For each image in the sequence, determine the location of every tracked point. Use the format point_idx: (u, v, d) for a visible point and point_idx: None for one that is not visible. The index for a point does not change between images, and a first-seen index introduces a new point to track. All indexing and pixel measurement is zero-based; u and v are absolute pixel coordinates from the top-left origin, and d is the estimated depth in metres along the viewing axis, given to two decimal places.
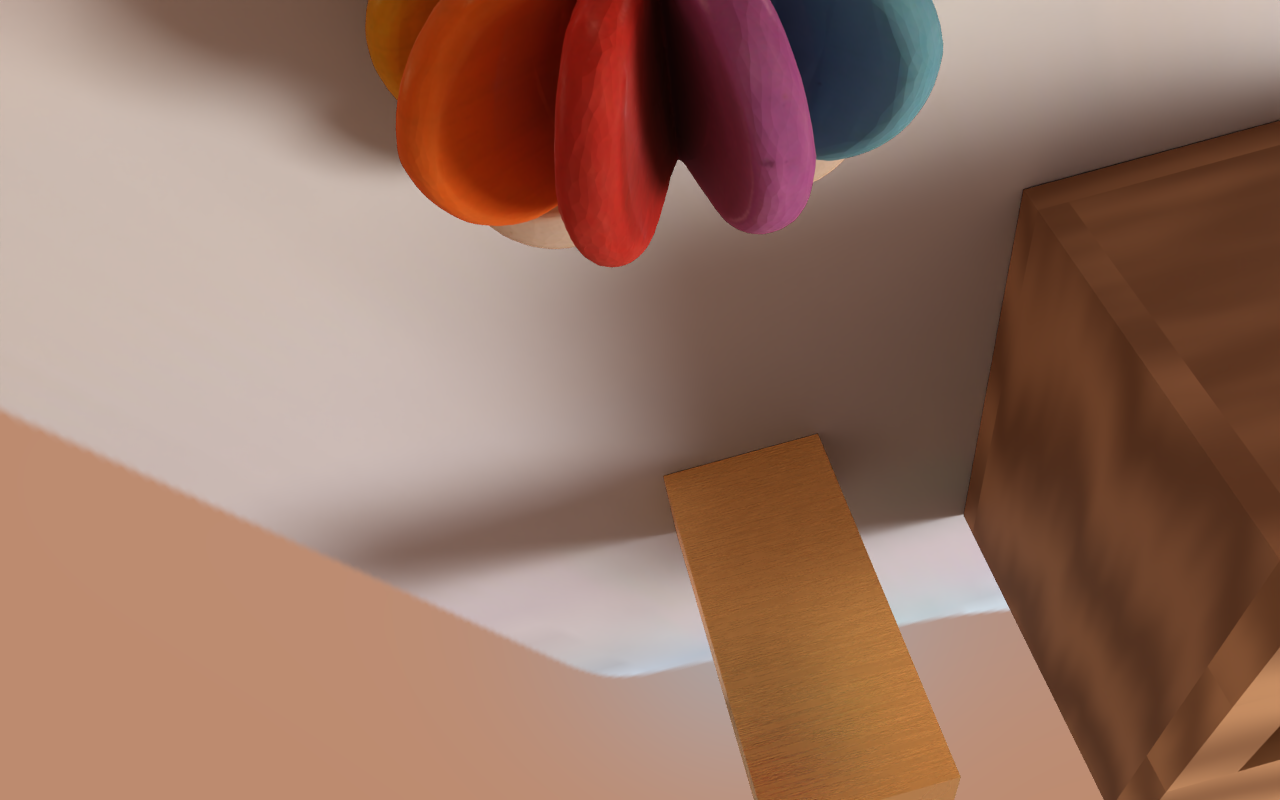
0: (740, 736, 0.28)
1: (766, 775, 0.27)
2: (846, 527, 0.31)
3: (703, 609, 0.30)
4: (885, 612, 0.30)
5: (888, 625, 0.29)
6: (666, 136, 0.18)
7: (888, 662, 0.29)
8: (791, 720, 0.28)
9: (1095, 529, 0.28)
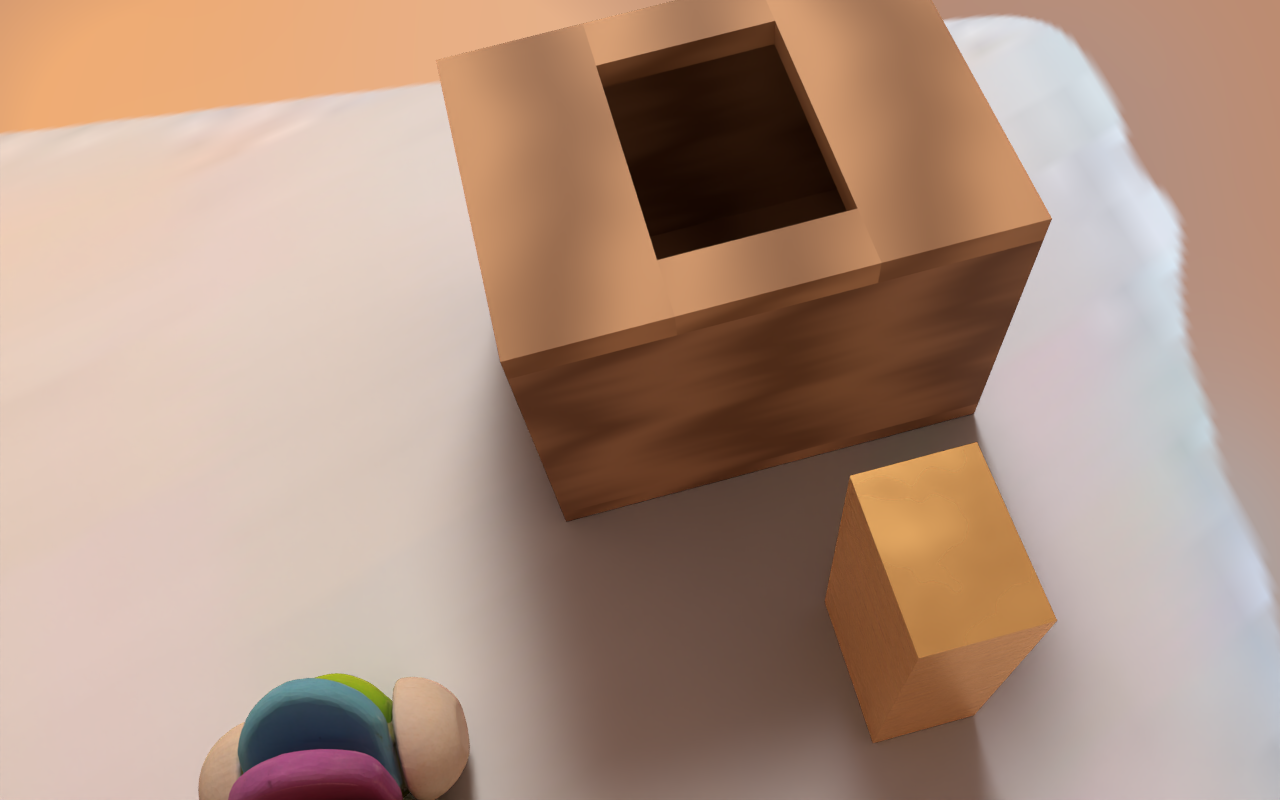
0: (905, 681, 0.28)
1: (906, 658, 0.27)
2: (833, 578, 0.35)
3: (889, 711, 0.31)
4: (838, 544, 0.32)
5: (840, 541, 0.32)
6: None
7: (847, 541, 0.31)
8: (886, 630, 0.29)
9: (730, 398, 0.35)
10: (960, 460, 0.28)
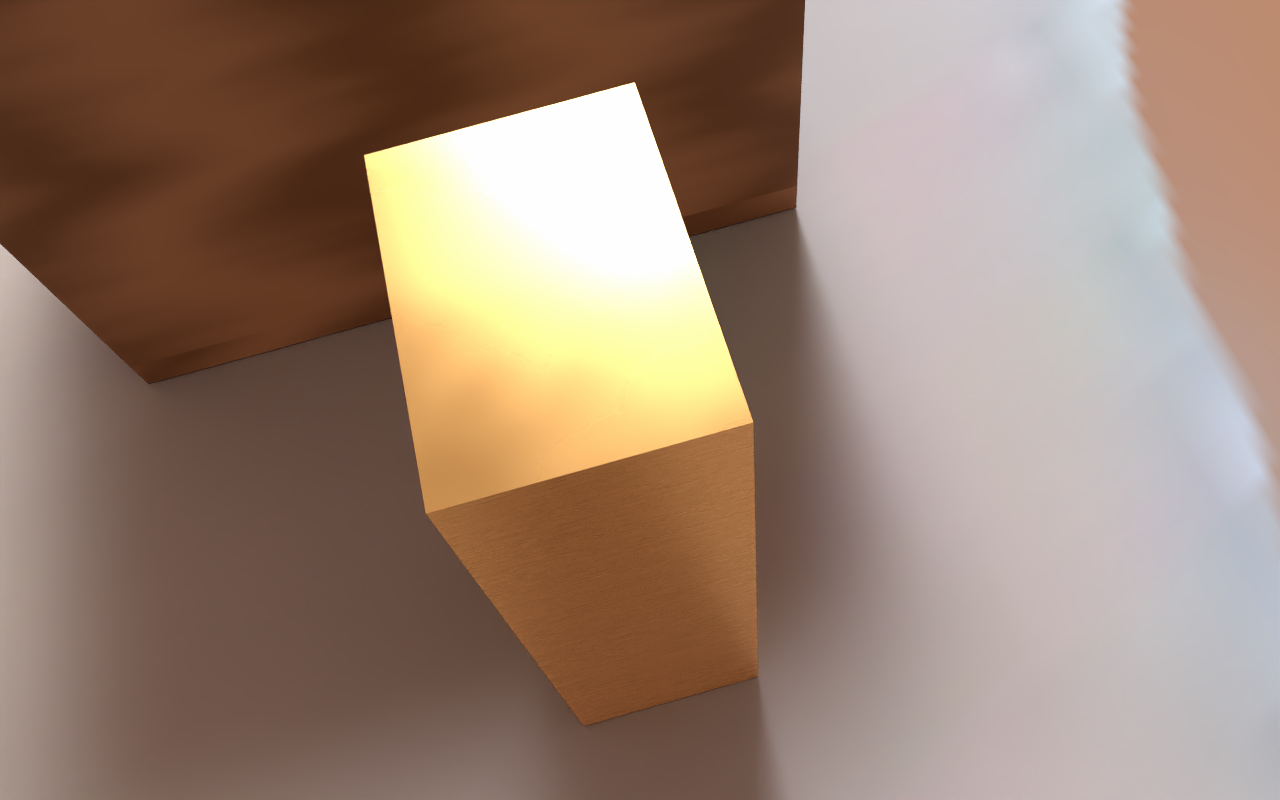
0: (482, 586, 0.13)
1: None
2: None
3: (539, 662, 0.17)
4: None
5: None
6: None
7: None
8: None
9: (317, 127, 0.20)
10: (594, 117, 0.13)
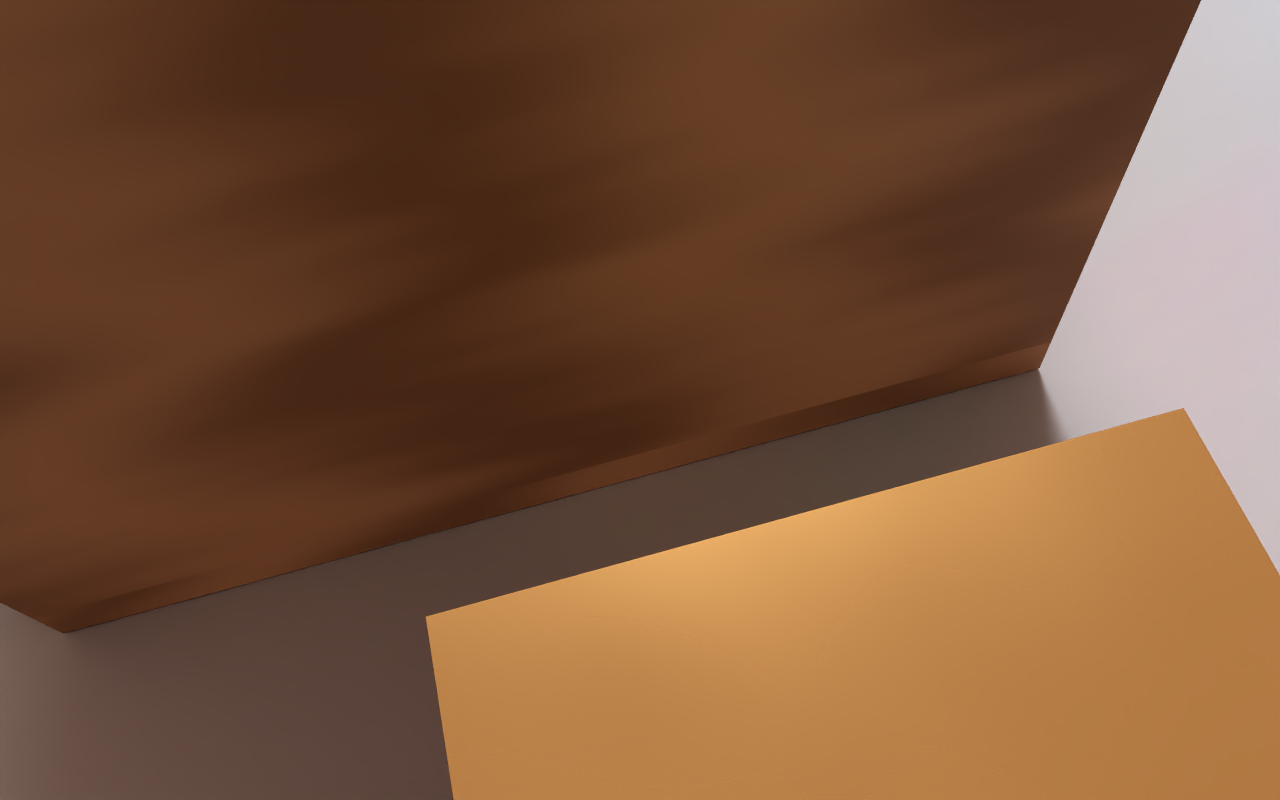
0: None
1: None
2: None
3: None
4: None
5: None
6: None
7: None
8: None
9: (316, 302, 0.11)
10: (1092, 520, 0.05)
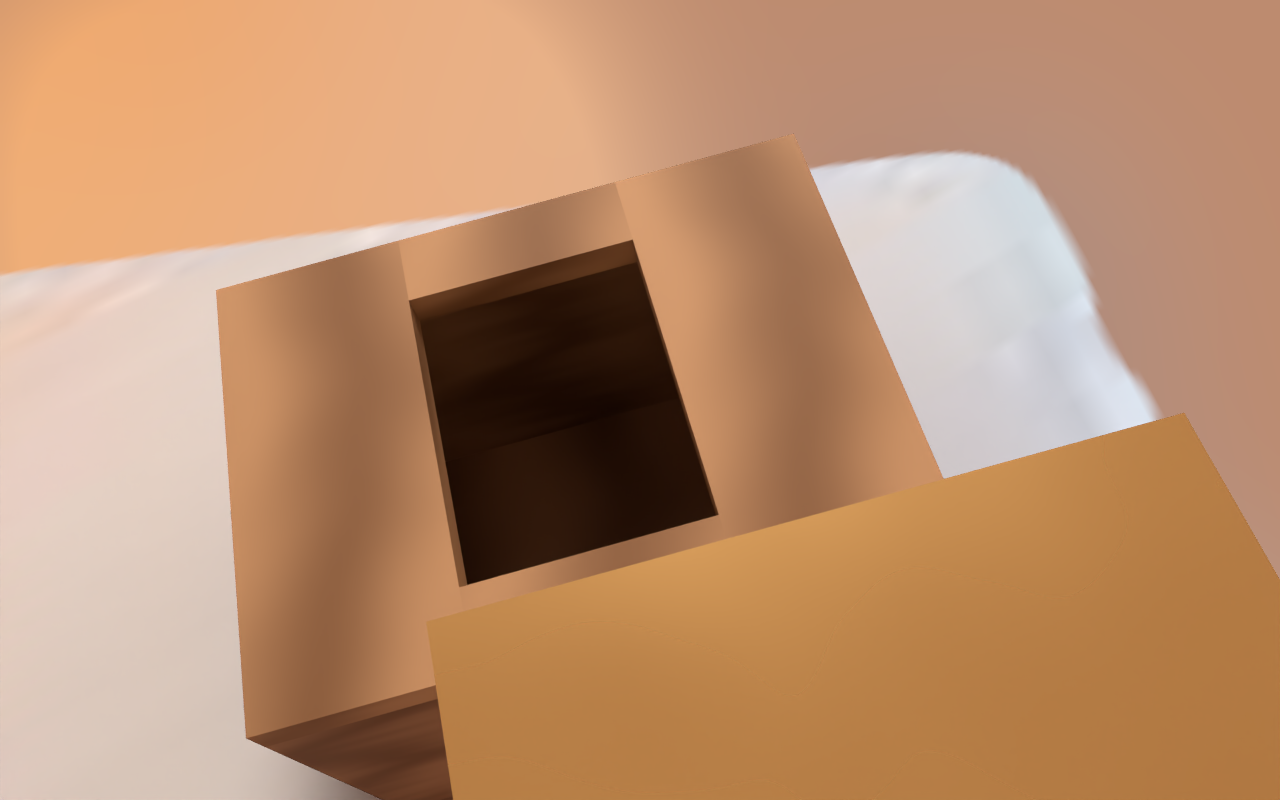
0: None
1: None
2: None
3: None
4: None
5: None
6: None
7: None
8: None
9: None
10: (1092, 525, 0.05)
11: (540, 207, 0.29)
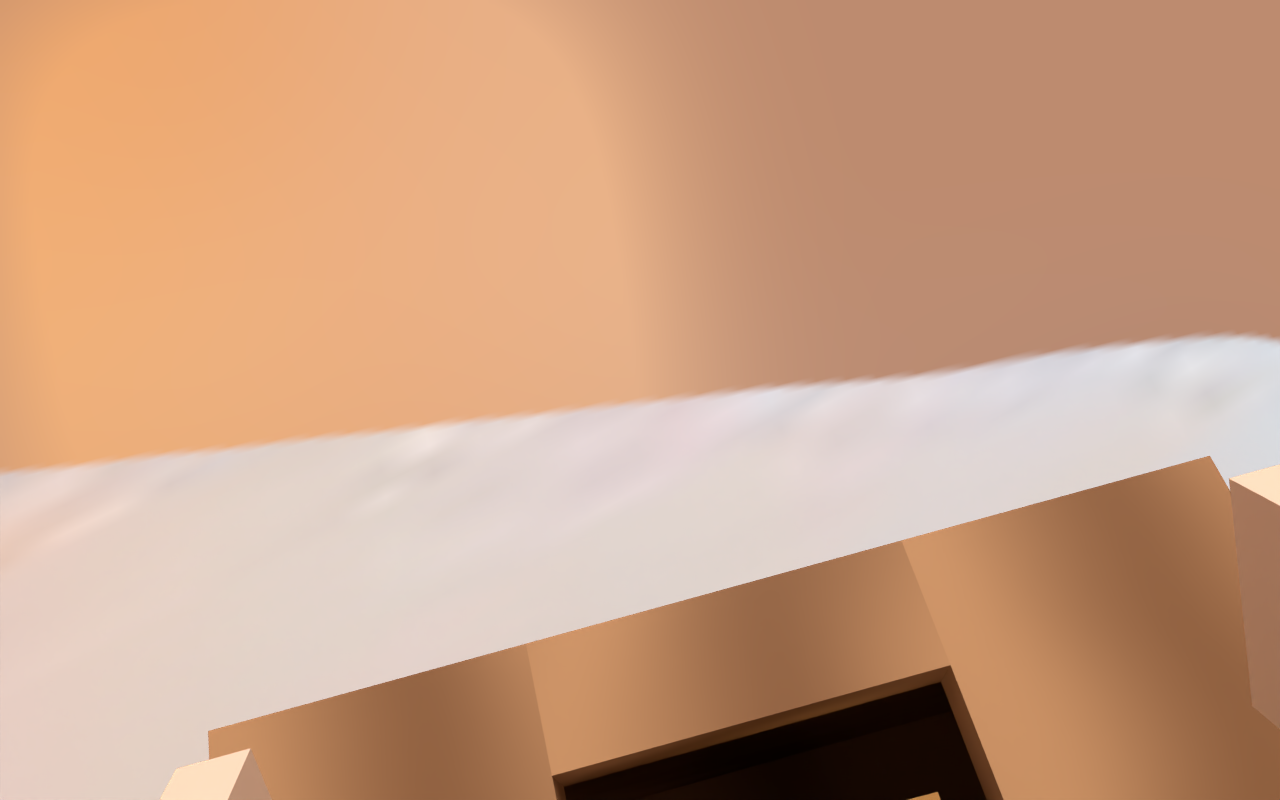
0: None
1: None
2: None
3: None
4: None
5: None
6: None
7: None
8: None
9: None
10: None
11: (774, 587, 0.16)
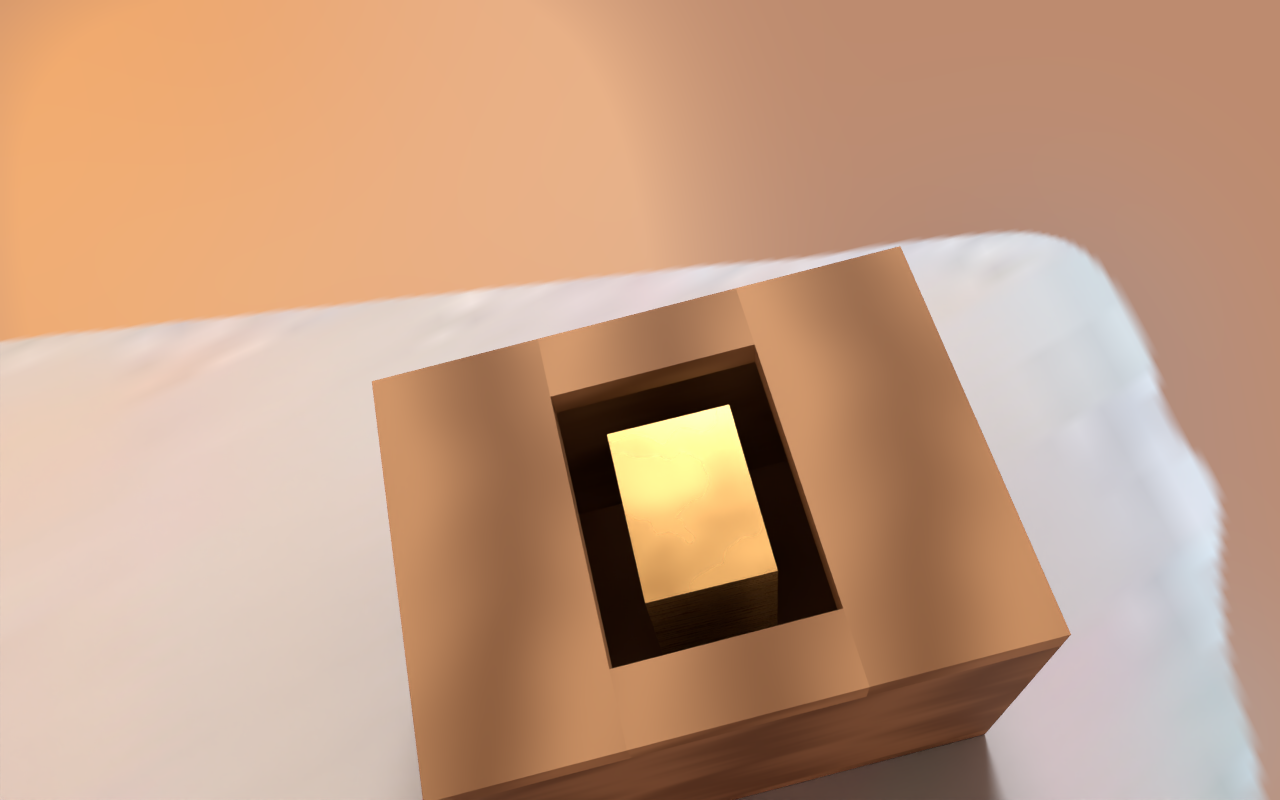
0: (655, 629, 0.30)
1: None
2: None
3: None
4: None
5: None
6: None
7: None
8: None
9: (702, 773, 0.31)
10: (711, 421, 0.30)
11: (668, 310, 0.31)
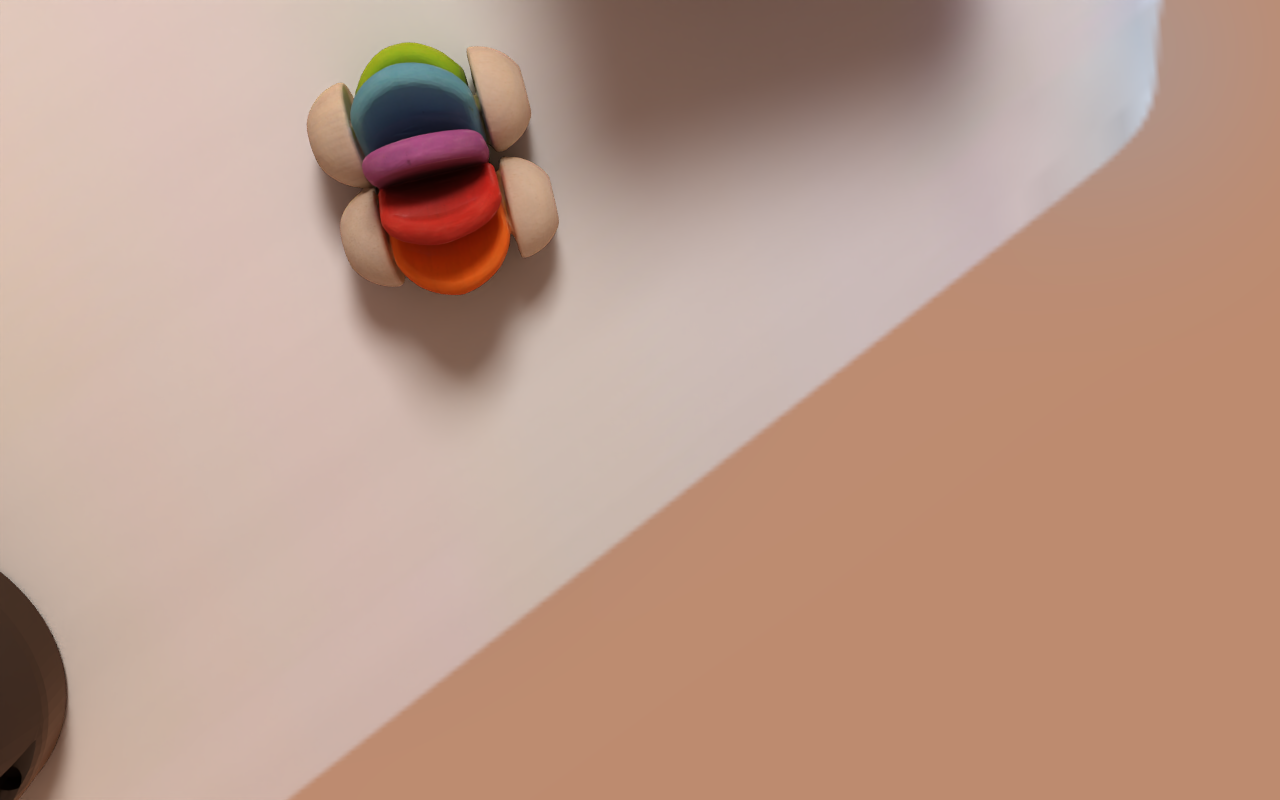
0: None
1: None
2: None
3: None
4: None
5: None
6: (458, 176, 0.40)
7: None
8: None
9: None
10: None
11: None
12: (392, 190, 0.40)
